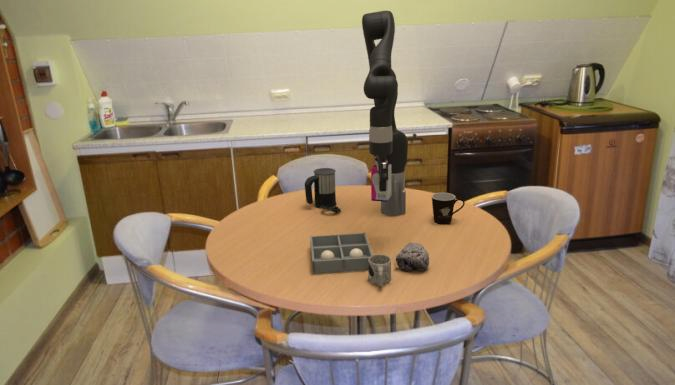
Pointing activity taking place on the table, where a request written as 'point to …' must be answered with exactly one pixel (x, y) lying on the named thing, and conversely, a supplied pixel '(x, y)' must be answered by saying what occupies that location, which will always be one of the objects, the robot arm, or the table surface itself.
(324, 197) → the milk frother
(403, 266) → the pumice stone
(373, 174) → the supplement box
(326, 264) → the grey divided tray
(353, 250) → the egg front left
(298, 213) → the table surface
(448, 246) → the table surface
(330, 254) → the egg front right
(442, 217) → the coffee mug
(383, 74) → the robot arm
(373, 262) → the mug
